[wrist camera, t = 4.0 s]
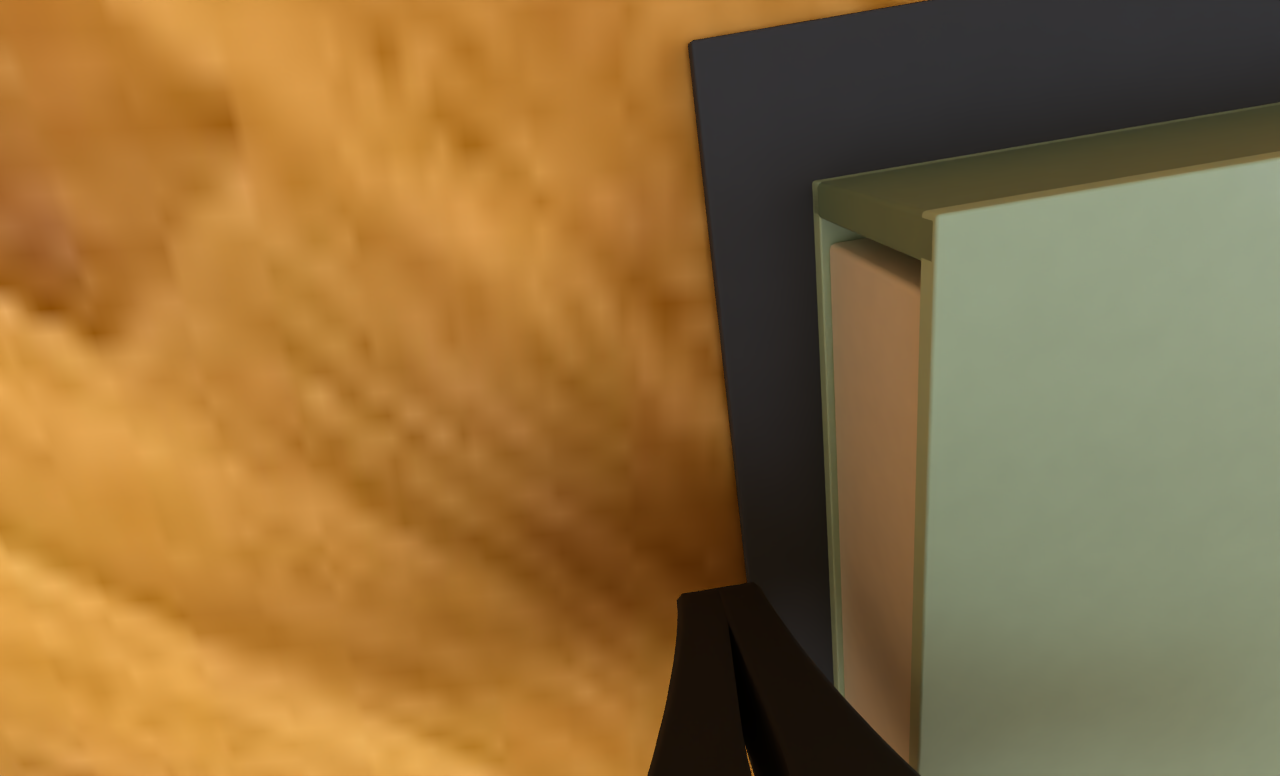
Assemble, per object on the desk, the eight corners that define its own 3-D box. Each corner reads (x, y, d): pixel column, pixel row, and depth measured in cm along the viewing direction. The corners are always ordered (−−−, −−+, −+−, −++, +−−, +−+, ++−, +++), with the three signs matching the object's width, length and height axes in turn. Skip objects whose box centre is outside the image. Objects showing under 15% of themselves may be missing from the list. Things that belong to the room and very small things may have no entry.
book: (1508, 63, 9) (2054, 27, 6) (1269, 739, 14) (1468, 924, 11) (811, 181, 9) (937, 214, 6) (838, 809, 14) (910, 1013, 11)
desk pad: (2025, -184, 8) (2075, -196, 8) (1498, 742, 15) (1515, 753, 15) (687, 43, 8) (690, 40, 8) (777, 858, 15) (780, 871, 15)
